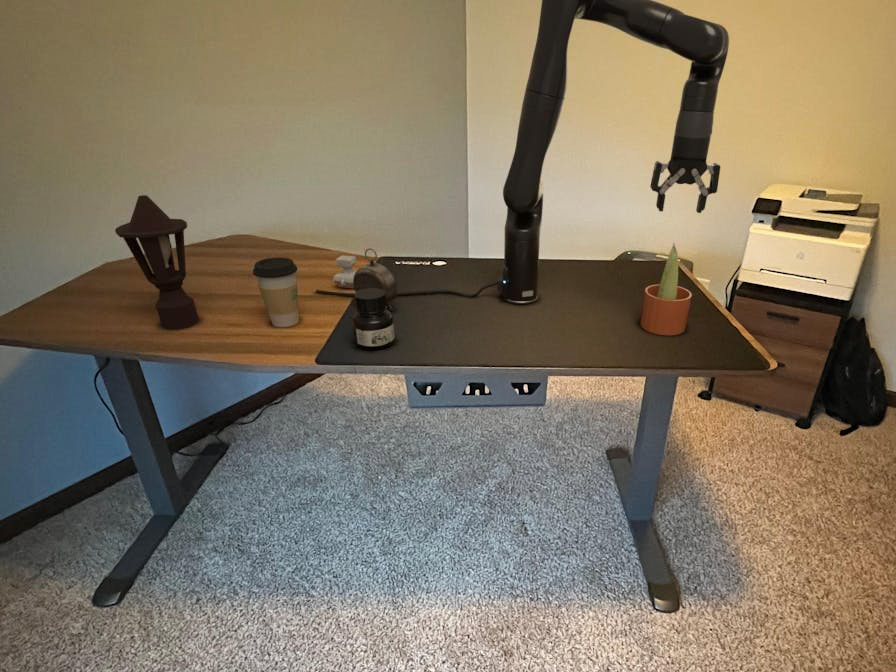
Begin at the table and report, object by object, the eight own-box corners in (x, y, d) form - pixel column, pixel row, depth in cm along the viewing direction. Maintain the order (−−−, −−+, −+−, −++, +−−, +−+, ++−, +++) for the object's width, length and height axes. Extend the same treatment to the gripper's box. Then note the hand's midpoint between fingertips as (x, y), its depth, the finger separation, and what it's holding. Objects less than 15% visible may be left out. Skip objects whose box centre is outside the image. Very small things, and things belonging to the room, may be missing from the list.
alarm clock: (399, 309, 148) (394, 248, 140) (387, 317, 143) (381, 254, 135) (365, 302, 152) (358, 242, 143) (352, 309, 147) (344, 248, 139)
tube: (678, 325, 141) (692, 248, 131) (664, 330, 138) (677, 251, 129) (661, 317, 145) (674, 242, 135) (647, 321, 142) (658, 245, 133)
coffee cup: (314, 317, 143) (304, 259, 135) (289, 332, 134) (277, 272, 127) (282, 311, 145) (270, 254, 138) (255, 326, 137) (241, 266, 130)
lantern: (181, 339, 130) (141, 206, 115) (130, 330, 134) (85, 200, 119) (227, 315, 143) (196, 192, 128) (179, 307, 146) (143, 187, 131)
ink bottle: (357, 354, 126) (350, 303, 120) (350, 338, 133) (343, 289, 127) (400, 347, 129) (396, 297, 123) (391, 331, 136) (387, 284, 130)
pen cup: (643, 334, 137) (648, 299, 133) (637, 316, 147) (642, 283, 142) (689, 336, 137) (696, 301, 132) (680, 318, 146) (686, 285, 142)
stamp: (353, 292, 157) (349, 263, 153) (331, 290, 159) (327, 261, 154) (368, 282, 165) (364, 253, 161) (347, 279, 166) (343, 251, 162)
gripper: (722, 133, 123) (707, 209, 131) (656, 130, 124) (645, 206, 132) (731, 137, 117) (715, 216, 125) (661, 134, 117) (650, 214, 126)
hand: (679, 211), depth 128 cm, fingers open, 8 cm apart
